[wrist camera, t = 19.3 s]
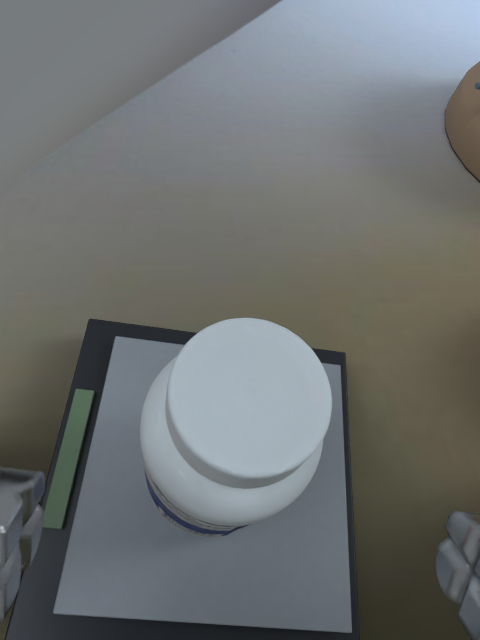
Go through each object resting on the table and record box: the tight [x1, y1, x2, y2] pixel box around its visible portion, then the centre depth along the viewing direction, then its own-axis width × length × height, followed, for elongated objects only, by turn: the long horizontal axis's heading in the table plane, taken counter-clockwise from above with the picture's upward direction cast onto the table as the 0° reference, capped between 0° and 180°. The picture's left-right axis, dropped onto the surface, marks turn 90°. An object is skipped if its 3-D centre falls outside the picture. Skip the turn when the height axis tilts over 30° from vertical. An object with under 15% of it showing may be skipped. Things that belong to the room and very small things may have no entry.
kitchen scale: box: [5, 319, 360, 640], centre depth 20 cm, size 13×13×2 cm
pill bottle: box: [140, 318, 332, 537], centre depth 15 cm, size 5×5×10 cm
